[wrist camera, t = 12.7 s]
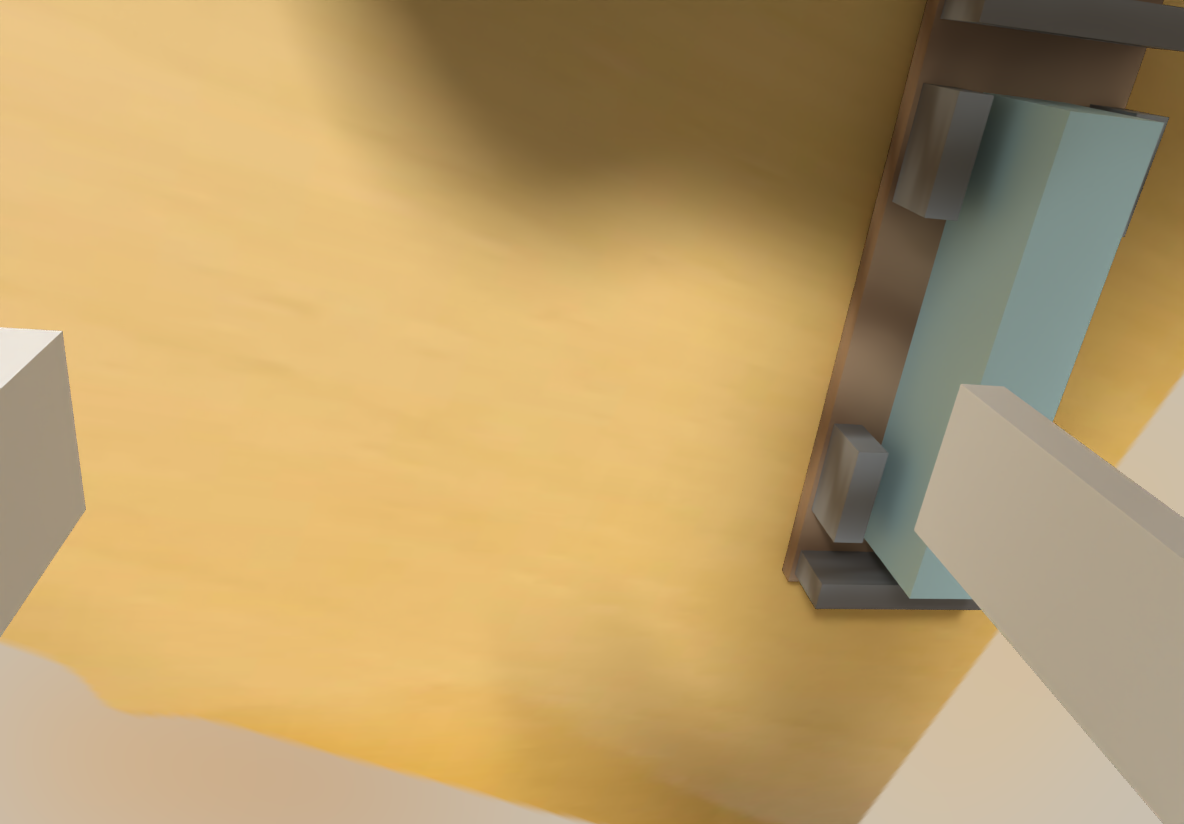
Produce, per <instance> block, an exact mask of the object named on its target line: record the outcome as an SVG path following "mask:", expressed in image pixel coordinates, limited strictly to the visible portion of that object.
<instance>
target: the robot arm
mask: <svg viewBox="0 0 1184 824" xmlns="http://www.w3.org/2000/svg"><path fill="white" fill-rule="evenodd" d="M85 510H86V507H85V500H84V492H83V485H82V477H81V469H80V462H79V454H78V446H77V439H76V431H75V424H74V416H73V408H72V401H71V393H70V386H69V378H68V370H67V363H66V355H65V347H64V340H63V332H62V331H52V330H35V329H18V328H1V327H0V637H1V635H2V634H3V632H4V631H5V629H6V628H7V627H8V625H9V624H10V622H11V621H12V619H13V618H14V616H15V615H16V613H17V612H18V610H19V609H20V607H21V606H22V604H23V603H24V601H25V600H26V598H27V597H28V595H29V594H30V592H31V591H32V589H33V588H34V586H35V585H36V583H37V582H38V580H39V579H40V577H41V576H42V574H43V573H44V571H45V570H46V568H47V567H48V565H49V564H50V562H51V561H52V559H53V558H54V556H55V555H56V553H57V552H58V550H59V549H60V547H61V546H62V544H63V543H64V541H65V540H66V538H67V537H68V535H69V534H70V532H71V531H72V529H73V528H74V526H75V525H76V523H77V522H78V520H79V519H80V517H81V516H82V514H83V513H84V511H85ZM914 531H915V532H916V533H917V535H918V536H919V537H920V538H921V539H922V540H923V542H924V543H925V544H926V545H927V546H928V548H929V549H930V550H931V551H932V552H933V553H934V555H935V556H936V557H937V558H938V559H939V560H940V562H941V563H942V564H943V565H944V566H945V568H946V569H947V570H948V571H949V572H950V573H951V575H952V576H953V577H954V578H955V579H956V580H957V582H958V583H959V584H960V585H961V586H962V588H963V589H964V590H965V591H966V592H967V593H968V595H969V596H970V597H971V598H972V599H973V600H974V602H975V603H976V604H977V605H978V606H979V608H980V609H981V610H982V611H983V612H984V613H985V615H986V616H987V617H988V618H989V619H990V621H991V622H992V623H993V624H994V625H995V626H996V628H997V629H998V630H999V631H1000V632H1001V633H1002V635H1003V636H1004V637H1005V638H1006V639H1007V641H1008V642H1009V643H1010V644H1011V645H1012V646H1013V648H1014V649H1015V650H1016V651H1017V652H1018V653H1019V655H1020V656H1021V657H1022V658H1023V659H1024V660H1025V662H1026V663H1027V664H1028V665H1029V666H1030V668H1031V669H1032V670H1033V671H1034V672H1035V673H1036V675H1037V676H1038V677H1039V678H1040V679H1041V681H1042V682H1043V683H1044V684H1045V685H1046V686H1047V688H1048V689H1049V690H1050V691H1051V692H1052V694H1053V695H1054V696H1055V697H1056V698H1057V699H1058V701H1059V702H1060V703H1061V704H1062V705H1063V706H1064V708H1065V709H1066V710H1067V711H1068V712H1069V713H1070V715H1071V716H1072V717H1073V718H1074V719H1075V721H1076V722H1077V723H1078V724H1079V725H1080V726H1081V728H1082V729H1083V730H1084V731H1085V732H1086V734H1087V735H1088V736H1089V737H1090V738H1091V739H1092V740H1093V742H1094V743H1095V744H1096V745H1097V746H1098V748H1099V749H1100V750H1101V751H1102V752H1103V754H1104V755H1105V756H1106V757H1107V758H1108V759H1109V761H1111V763H1112V764H1113V765H1114V767H1115V768H1116V769H1117V770H1118V771H1119V772H1120V774H1121V775H1122V776H1123V777H1124V778H1125V779H1126V781H1127V782H1128V783H1129V784H1130V785H1131V787H1132V788H1133V789H1134V790H1135V791H1136V792H1137V793H1138V795H1139V796H1140V797H1141V798H1142V799H1143V801H1144V802H1145V803H1146V804H1147V805H1148V807H1149V808H1150V809H1151V810H1152V811H1153V812H1154V814H1155V815H1156V816H1157V817H1158V818H1159V819H1160V821H1161V822H1162V823H1163V824H1184V518H1183V517H1182V516H1180V515H1179V514H1177V513H1176V512H1175V511H1173V510H1172V509H1170V508H1169V507H1168V506H1166V505H1165V504H1164V503H1162V502H1161V501H1160V500H1158V499H1157V498H1156V497H1154V496H1153V495H1152V494H1150V493H1149V492H1147V491H1146V490H1145V489H1143V488H1142V487H1141V486H1139V485H1138V484H1136V483H1135V482H1134V481H1132V480H1131V479H1130V478H1128V477H1127V476H1125V475H1124V474H1123V473H1121V472H1120V471H1119V470H1117V469H1116V468H1115V467H1113V466H1112V465H1111V464H1109V463H1108V462H1106V461H1105V460H1104V459H1102V458H1101V457H1100V456H1098V455H1097V454H1096V453H1094V452H1093V451H1091V450H1090V449H1089V448H1087V447H1086V446H1085V445H1083V444H1082V443H1080V442H1079V441H1078V440H1076V439H1075V438H1074V437H1072V436H1071V435H1070V434H1068V433H1067V432H1065V431H1064V430H1063V429H1061V428H1060V427H1059V426H1057V425H1056V424H1055V423H1053V422H1052V421H1050V420H1049V419H1048V418H1046V417H1045V416H1044V415H1042V414H1041V413H1040V412H1038V411H1037V410H1035V409H1034V408H1033V407H1031V406H1030V405H1029V404H1027V403H1026V402H1024V401H1023V400H1022V399H1020V398H1019V397H1018V396H1016V395H1015V394H1014V393H1012V392H1011V391H1009V390H1008V389H1007V388H1005V387H1004V386H989V385H972V384H961V385H960V388H959V391H958V394H957V397H956V400H955V403H954V407H953V410H952V413H951V416H950V419H949V422H948V425H947V428H946V431H945V435H944V438H943V441H942V444H941V447H940V450H939V453H938V456H937V460H936V463H935V466H934V469H933V472H932V475H931V478H930V481H929V484H928V488H927V491H926V494H925V497H924V500H923V503H922V506H921V509H920V512H919V516H918V519H917V522H916V525H915V528H914Z"/></svg>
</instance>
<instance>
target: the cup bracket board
mask: <svg viewBox="0 0 1184 824" xmlns="http://www.w3.org/2000/svg"><path fill="white" fill-rule="evenodd" d="M1163 1H1164V0H927V3H926V7H925V11H924V15H923V19H922V23H921V27H920V31H919V35H918V39H917V42H916V46H915V50H914V54H913V58H912V62H911V66H910V70H909V74H908V78H907V82H906V86H905V90H904V94H903V97H902V101H901V105H900V109H899V113H898V117H897V121H896V125H895V129H894V133H893V137H892V141H891V145H890V149H889V152H888V156H887V160H886V164H885V168H884V172H883V176H882V180H881V184H880V188H879V192H878V196H877V200H876V204H875V207H874V211H873V215H872V219H871V223H870V227H869V231H868V235H867V239H866V243H865V247H864V251H863V255H862V259H861V262H860V266H859V270H858V274H857V278H856V282H855V286H854V290H853V294H852V298H851V302H850V306H849V310H848V314H847V317H846V321H845V325H844V329H843V333H842V337H841V341H840V345H839V349H838V353H837V357H836V361H835V365H834V369H833V372H832V376H831V380H830V384H829V388H828V392H827V396H826V400H825V404H824V408H823V412H822V416H821V420H820V424H819V427H818V431H817V435H816V439H815V443H814V447H813V451H812V455H811V459H810V463H809V467H808V471H807V475H806V479H805V483H804V486H803V490H802V494H801V498H800V502H799V506H798V510H797V514H796V518H795V522H794V526H793V530H792V534H791V538H790V541H789V545H788V549H787V553H786V557H785V561H784V565H783V569H782V571H783V573H784V575H785V576H786V578H787V580H788V581H799V582H800V583H801V585H802V587H803V589H804V590H805V592H806V594H807V595H808V597H809V599H810V600H811V602H812V604H813V606H814V607H815V609H922V610H981V609H980V608H979V606H978V605H977V604H976V603H975V602H974V600H973V599H910V598H909V597H908V596H907V594H906V593H905V592H904V590H903V589H902V588H901V586H900V585H899V584H898V582H897V581H896V580H895V578H894V577H893V576H892V574H891V573H890V572H889V570H888V569H887V568H886V566H885V565H884V564H883V562H882V561H881V560H880V558H879V557H878V556H877V554H876V553H875V552H874V550H873V549H872V548H871V546H870V545H869V544H868V542H867V541H866V540H865V538H864V536H865V532H866V529H867V525H868V522H869V519H870V515H871V512H872V508H873V505H874V502H875V498H876V495H877V491H878V488H879V485H880V481H881V478H882V475H883V471H884V468H885V464H886V461H887V458H888V454H889V453H888V452H887V451H886V450H885V449H884V448H883V447H882V446H881V444H882V441H883V438H884V434H885V431H886V427H887V424H888V420H889V417H890V413H891V410H892V406H893V403H894V399H895V396H896V393H897V389H898V386H899V382H900V379H901V375H902V372H903V368H904V365H905V361H906V358H907V354H908V351H909V348H910V344H911V341H912V337H913V334H914V330H915V327H916V323H917V320H918V316H919V313H920V309H921V306H922V303H923V299H924V296H925V292H926V289H927V285H928V282H929V278H930V275H931V271H932V268H933V264H934V261H935V258H936V254H937V251H938V247H939V244H940V240H941V237H942V233H943V230H944V226H945V223H946V220H952V221H957V220H958V217H959V213H960V210H961V207H962V203H963V200H964V196H965V193H966V190H967V186H968V183H969V180H970V176H971V173H972V169H973V166H974V163H975V159H976V156H977V152H978V149H979V146H980V142H981V139H982V135H983V132H984V129H985V125H986V122H987V118H988V115H989V112H990V108H991V105H992V102H993V98H994V95H989V94H985V93H993V94H1001V95H1009V96H1017V97H1025V98H1033V99H1041V100H1049V101H1057V102H1065V103H1070V104H1075V105H1080V106H1085V107H1090V108H1095V109H1100V110H1104V111H1109V112H1114V113H1119V114H1124V115H1129V116H1134V117H1139V118H1144V119H1149V120H1153V121H1158V122H1163V123H1164V125H1163V128H1162V131H1161V133H1160V136H1159V139H1158V141H1157V144H1156V147H1155V150H1154V152H1153V155H1152V158H1151V160H1150V163H1149V166H1148V168H1147V171H1146V174H1145V176H1144V179H1143V182H1142V184H1141V187H1140V190H1139V192H1138V195H1137V198H1136V200H1135V203H1134V206H1133V208H1132V211H1131V214H1130V216H1129V219H1128V222H1127V224H1126V227H1125V230H1124V232H1123V235H1122V237H1125V234H1126V231H1127V229H1128V226H1129V223H1130V221H1131V218H1132V215H1133V213H1134V210H1135V207H1136V205H1137V202H1138V199H1139V197H1140V194H1141V191H1142V189H1143V186H1144V183H1145V181H1146V178H1147V175H1148V173H1149V170H1150V167H1151V165H1152V162H1153V159H1154V157H1155V154H1156V151H1157V149H1158V146H1159V143H1160V141H1161V138H1162V135H1163V133H1164V130H1165V127H1166V125H1167V122H1168V120H1169V117H1164V116H1159V115H1154V114H1149V113H1144V112H1138V111H1133V110H1128V109H1125V108H1126V105H1127V102H1128V99H1129V97H1130V94H1131V91H1132V88H1133V85H1134V82H1135V80H1136V77H1137V74H1138V71H1139V68H1140V66H1141V63H1142V60H1143V57H1144V54H1145V51H1146V49H1147V48H1154V49H1164V50H1174V51H1184V8H1181V7H1175V6H1168V5H1162V4H1163ZM983 92H985V93H983Z"/></svg>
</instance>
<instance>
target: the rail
mask: <svg viewBox="0 0 1184 824" xmlns="http://www.w3.org/2000/svg"><path fill="white" fill-rule="evenodd" d="M983 93H985V92H983ZM985 94H989V95H994V98H993V102H992V105H991V108H990V112H989V115H988V118H987V122H986V125H985V129H984V132H983V135H982V139H981V142H980V146H979V149H978V152H977V156H976V159H975V163H974V166H973V169H972V173H971V176H970V180H969V183H968V186H967V190H966V193H965V196H964V200H963V203H962V207H961V210H960V213H959V217H958V220H957V221H952V220H946V223H945V226H944V230H943V233H942V237H941V240H940V244H939V247H938V251H937V254H936V258H935V261H934V264H933V268H932V271H931V275H930V278H929V282H928V285H927V289H926V292H925V296H924V299H923V303H922V306H921V309H920V313H919V316H918V320H917V323H916V327H915V330H914V334H913V337H912V341H911V344H910V348H909V351H908V354H907V358H906V361H905V365H904V368H903V372H902V375H901V379H900V382H899V386H898V389H897V393H896V396H895V399H894V403H893V406H892V410H891V413H890V417H889V420H888V424H887V427H886V431H885V434H884V438H883V441H882V444H881V446H882V447H883V448H884V449H885V450H886V451H887V452H888V453H889V454H888V458H887V461H886V464H885V468H884V471H883V475H882V478H881V481H880V485H879V488H878V491H877V495H876V498H875V502H874V505H873V508H872V512H871V515H870V519H869V522H868V525H867V529H866V532H865V536H864V538H865V540H866V541H867V542H868V544H869V545H870V546H871V548H872V549H873V550H874V552H875V553H876V554H877V556H878V557H879V558H880V560H881V561H882V562H883V564H884V565H885V566H886V568H887V569H888V570H889V572H890V573H891V574H892V576H893V577H894V578H895V580H896V581H897V582H898V584H899V585H900V586H901V588H902V589H903V590H904V592H905V593H906V594H907V596H908V597H909V598H910V599H972V598H971V597H970V596H969V595H968V593H967V592H966V591H965V590H964V589H963V588H962V586H961V585H960V584H959V583H958V582H957V580H956V579H955V578H954V577H953V576H952V575H951V573H950V572H949V571H948V570H947V569H946V568H945V566H944V565H943V564H942V563H941V562H940V560H939V559H938V558H937V557H936V556H935V555H934V553H933V552H932V551H931V550H930V549H929V548H928V546H927V545H926V544H925V543H924V542H923V540H922V539H921V538H920V537H919V536H918V535H917V533H916V532H915V531H914V528H915V525H916V522H917V519H918V516H919V512H920V509H921V506H922V503H923V500H924V497H925V494H926V491H927V488H928V484H929V481H930V478H931V475H932V472H933V469H934V466H935V463H936V460H937V456H938V453H939V450H940V447H941V444H942V441H943V438H944V435H945V431H946V428H947V425H948V422H949V419H950V416H951V413H952V410H953V407H954V403H955V400H956V397H957V394H958V391H959V388H960V385H961V384H972V385H989V386H1004V387H1005V388H1007V389H1008V390H1009V391H1011V392H1012V393H1014V394H1015V395H1016V396H1018V397H1019V398H1020V399H1022V400H1023V401H1024V402H1026V403H1027V404H1029V405H1030V406H1031V407H1033V408H1034V409H1035V410H1037V411H1038V412H1040V413H1041V414H1042V415H1044V416H1045V417H1046V418H1048V419H1049V420H1050V421H1052V422H1053V420H1054V417H1055V414H1056V412H1057V409H1058V406H1059V404H1060V401H1061V398H1062V395H1063V393H1064V390H1065V387H1066V385H1067V382H1068V379H1069V377H1070V374H1071V371H1072V369H1073V366H1074V363H1075V361H1076V358H1077V355H1078V353H1079V350H1080V347H1081V345H1082V342H1083V339H1084V337H1085V334H1086V331H1087V329H1088V326H1089V323H1090V321H1091V318H1092V315H1093V313H1094V310H1095V307H1096V305H1097V302H1098V299H1099V297H1100V294H1101V291H1102V289H1103V286H1104V283H1105V281H1106V278H1107V275H1108V272H1109V270H1110V267H1111V264H1112V262H1113V259H1114V256H1115V254H1116V251H1117V248H1118V246H1119V243H1120V240H1121V238H1122V235H1123V232H1124V230H1125V227H1126V224H1127V222H1128V219H1129V216H1130V214H1131V211H1132V208H1133V206H1134V203H1135V200H1136V198H1137V195H1138V192H1139V190H1140V187H1141V184H1142V182H1143V179H1144V176H1145V174H1146V171H1147V168H1148V166H1149V163H1150V160H1151V158H1152V155H1153V152H1154V150H1155V147H1156V144H1157V141H1158V139H1159V136H1160V133H1161V131H1162V128H1163V125H1164V123H1163V122H1158V121H1153V120H1149V119H1144V118H1139V117H1134V116H1129V115H1124V114H1119V113H1114V112H1109V111H1104V110H1100V109H1095V108H1090V107H1085V106H1080V105H1075V104H1070V103H1065V102H1057V101H1049V100H1041V99H1033V98H1025V97H1017V96H1009V95H1001V94H993V93H985Z"/></svg>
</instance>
